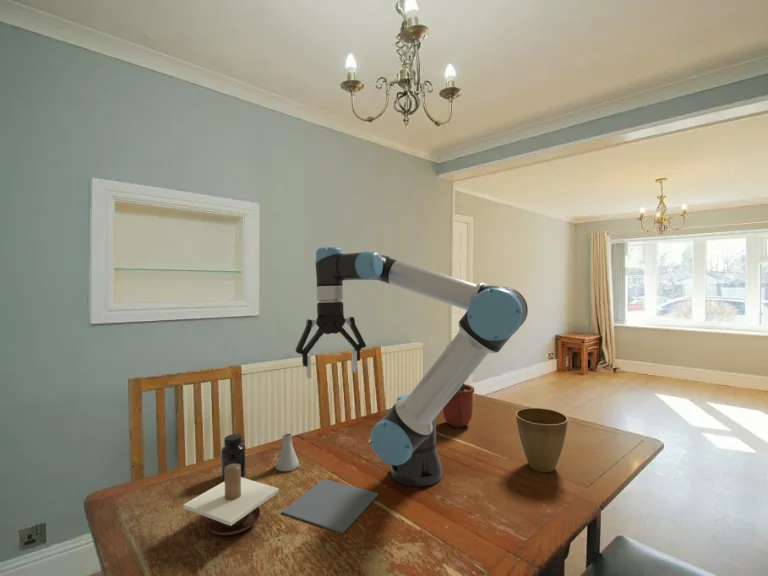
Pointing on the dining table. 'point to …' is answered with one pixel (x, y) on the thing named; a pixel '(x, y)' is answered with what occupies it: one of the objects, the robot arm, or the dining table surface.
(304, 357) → the robot arm
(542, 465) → the plant pot
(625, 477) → the dining table surface
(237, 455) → the supplement bottle
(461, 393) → the potted plant
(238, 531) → the cup and saucer
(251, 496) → the board
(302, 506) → the mat
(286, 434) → the flask
